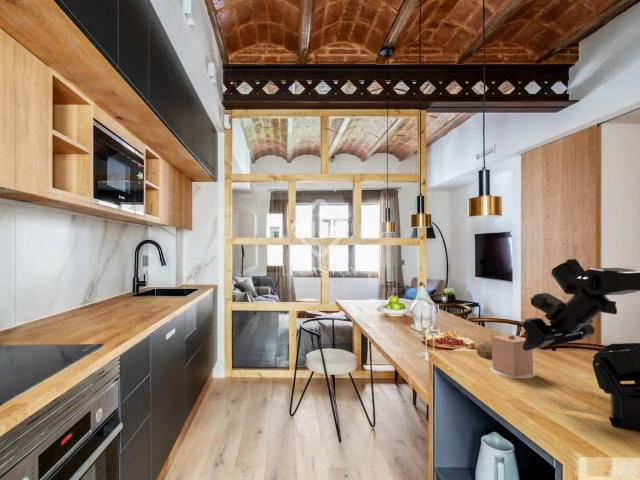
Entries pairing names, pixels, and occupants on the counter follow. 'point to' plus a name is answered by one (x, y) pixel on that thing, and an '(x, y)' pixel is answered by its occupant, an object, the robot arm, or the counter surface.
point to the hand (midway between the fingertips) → (536, 347)
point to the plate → (512, 376)
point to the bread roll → (485, 349)
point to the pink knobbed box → (511, 355)
